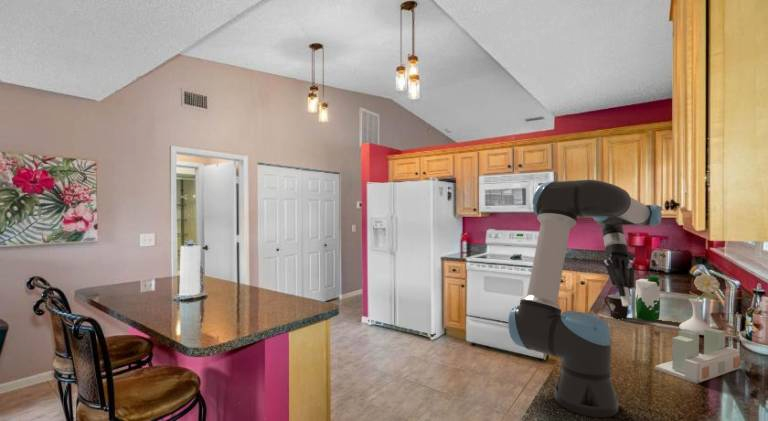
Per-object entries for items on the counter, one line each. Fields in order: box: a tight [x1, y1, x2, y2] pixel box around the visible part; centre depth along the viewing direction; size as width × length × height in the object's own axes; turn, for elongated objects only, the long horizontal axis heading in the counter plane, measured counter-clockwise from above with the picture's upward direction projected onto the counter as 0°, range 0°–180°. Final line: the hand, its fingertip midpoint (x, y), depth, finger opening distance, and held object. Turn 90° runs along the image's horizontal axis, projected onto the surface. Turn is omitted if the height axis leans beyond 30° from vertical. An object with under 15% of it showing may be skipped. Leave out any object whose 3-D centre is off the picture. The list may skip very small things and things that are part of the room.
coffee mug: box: [604, 294, 629, 320], centre depth 181 cm, size 12×9×10 cm
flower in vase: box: [678, 273, 721, 336], centre depth 157 cm, size 13×11×25 cm
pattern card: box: [699, 352, 741, 383], centre depth 118 cm, size 22×1×5 cm, turn 115°
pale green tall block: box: [671, 335, 694, 373], centre depth 119 cm, size 4×4×10 cm
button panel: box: [654, 346, 741, 384], centre depth 123 cm, size 25×12×6 cm, turn 115°
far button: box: [703, 327, 726, 354], centre depth 127 cm, size 4×4×10 cm
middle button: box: [677, 329, 700, 357], centre depth 126 cm, size 4×4×10 cm
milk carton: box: [635, 275, 661, 323], centre depth 178 cm, size 9×9×20 cm
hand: (627, 305), depth 140 cm, fingers closed
